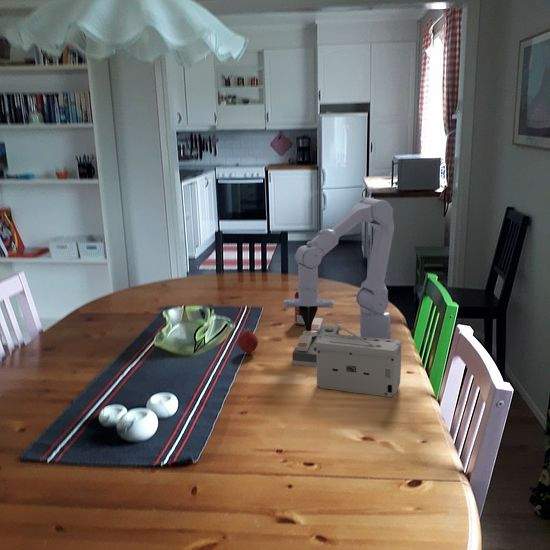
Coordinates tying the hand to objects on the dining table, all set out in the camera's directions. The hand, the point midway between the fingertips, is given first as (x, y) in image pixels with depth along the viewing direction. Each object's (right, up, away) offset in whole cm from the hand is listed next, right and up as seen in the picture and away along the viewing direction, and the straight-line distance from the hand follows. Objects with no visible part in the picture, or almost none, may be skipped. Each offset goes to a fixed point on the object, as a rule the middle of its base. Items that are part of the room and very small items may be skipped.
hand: (308, 330), depth 167 cm
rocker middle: (+1, -1, +2) cm, 3 cm away
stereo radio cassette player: (+11, -13, -24) cm, 29 cm away
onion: (-18, -7, 0) cm, 20 cm away
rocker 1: (-2, -3, -5) cm, 6 cm away
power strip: (+3, -6, +3) cm, 7 cm away
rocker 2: (+3, +1, +10) cm, 10 cm away
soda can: (0, 0, +25) cm, 25 cm away
